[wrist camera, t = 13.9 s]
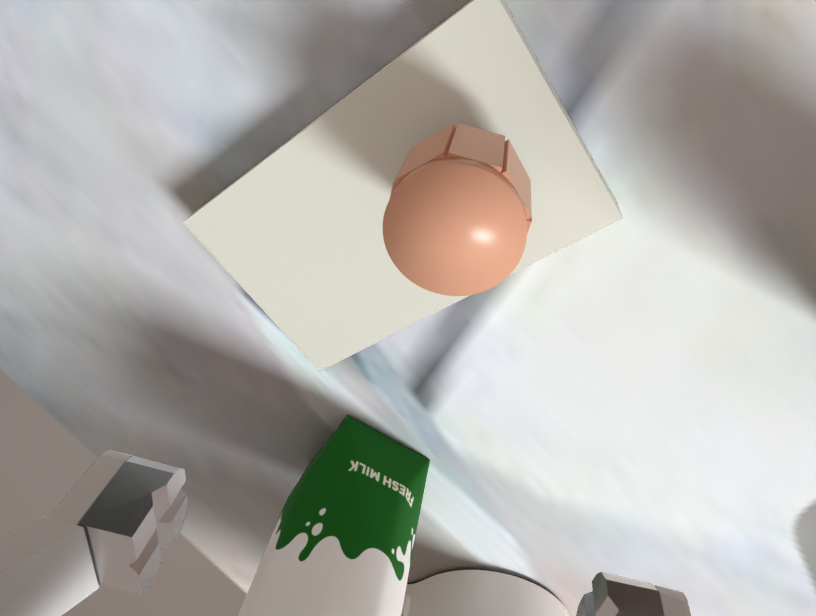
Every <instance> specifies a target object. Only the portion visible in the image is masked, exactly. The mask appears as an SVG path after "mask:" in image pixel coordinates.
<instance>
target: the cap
mask: <svg viewBox="0 0 816 616" xmlns="http://www.w3.org/2000/svg"><path fill="white" fill-rule="evenodd" d="M531 223H532V211H531V180H530V178H529V176H528V174H527V172H526V170H525V168H524V167H523V165H522V163H521V161H520V159H519V157H518V155H517V153H516V151H515V149H514V147H513V146H512V144H511V142H510V140H509V139H508V140H506V141H505V136H504V135H500V134H497V133H493V132H490V131H486V130H482V129H479V128H475V127H472V126H468V125H465V124H461V123H458V125H457V128H456V127H455V125H454V123H453V124H451V125H450V126H448V127H446V128H444V129H443V130H441V131H439V132H437V133H436V134H434V135H432V136H430V137H429V138H427V139H425V140H423V141H422V142H420V143H418V144H416V145H415V146H413V147H412V149H411V150H410V151H409V153H408V155H407V157H406V159H405V161H404V163H403V165H402V167H401V169H400V171H399V172H398V174H397V176H396V178H395V180H394V182H393V186H392V190H391V195H390V199H389V202H388V204H387V206H386V209H385V213H384V217H383V239H384V243H385V247H386V250H387V252H388V254H389V257H390V258H391V260H392V262H393V263H394V265H395V266H396V267H397V269H398V270H399V271H400V272H401V273H402V274H403V275H404V276H405V277H406V278H407V279H409V280H410V281H411V282H413V283H414V284H416V285H418V286H419V287H421V288H423V289H425V290H428V291H431V292H433V293H437V294H441V295H447V296H467V295H473V294H477V293H481V292H484V291H486V290H489V289H491V288H493V287H495V286H496V285H498V284H499V283H501V282H502V281H503V280H504V279H506V278H507V277H508V276H509V275H510V274H511V273H512V271H513V270H514V269H515V268H516V266H517V265H518V263H519V261H520V259H521V257H522V255H523V252H524V249H525V245H526V239H527V233H528V231H529V228H530V225H531Z"/></svg>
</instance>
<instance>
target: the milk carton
mask: <svg viewBox="0 0 816 616" xmlns="http://www.w3.org/2000/svg"><path fill="white" fill-rule="evenodd" d="M429 462H430V460H429V459H427V458H425V457H423V456H422V455H420V454H418V453H416V452H414V451H412V450H411V449H409V448H407V447H405V446H403V445H402V444H400V443H398V442H396V441H394V440H392V439H391V438H389V437H387V436H385V435H383V434H381V433H380V432H378V431H376V430H374V429H372V428H371V427H369V426H367V425H365V424H363V423H361V422H360V421H358V420H356V419H354V418H352V417H351V416H349V415H347V417H346V418H345V419H344V421H343V422H342V423H341V424H340V426H339V427H338V428H337V430H336V431H335V432H334V433H333V435H332V436H331V437H330V439H329V440H328V441H327V442H326V444H325V445H324V446H323V448H322V449H321V450H320V451H319V453H318V454H317V455H316V457H315V458H314V459H313V460H312V462H311V463H310V464H309V466H308V467H307V469H306V470H305V472H304V474H303V475H302V477H301V478H300V480H299V482H298V483H297V485H296V486H295V488H294V489H293V491H292V492H291V494H290V496H289V497H288V499H287V501H286V503H285V505H284V508H283V510H282V512H281V514H280V517H279V519H278V521H277V524H276V526H275V529H274V531H273V533H272V536H271V538H270V541H269V543H268V545H267V548H266V550H265V553H264V555H263V557H262V560H261V562H260V565H259V567H258V569H257V572H256V574H255V577H254V579H253V581H252V584H251V586H250V589H249V591H248V593H247V596H246V598H245V601H244V603H243V606H242V608H241V610H240V613H239V615H238V616H401V613H402V608H403V602H404V597H405V591H406V585H407V580H408V574H409V569H410V563H411V558H412V552H413V546H414V540H415V534H416V529H417V524H418V519H419V514H420V509H421V503H422V498H423V493H424V487H425V482H426V477H427V472H428V467H429Z"/></svg>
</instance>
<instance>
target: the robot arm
mask: <svg viewBox="0 0 816 616" xmlns="http://www.w3.org/2000/svg"><path fill="white" fill-rule="evenodd" d="M185 481H186V475H185V469H183V468H179V467H175V466H171V465H168V464H164V463H160V462H156V461H153V460H149V459H145V458H141V457H137V456H135V455H131V454H127V453H123V452H119V451H115V450H111V449H108V450H107V451H105V452H104V453H102V454H101V455H99V457H98V458H97V459H96V460H95V462H94V463H93V464H92V465H91V466H90V468H89V469H88V470H87V471H86V472H85V474H84V475H83V476H82V477H81V479H80V480H79V481H78V482H77V484H76V485H75V486H74V487H73V488H72V489H71V491H70V492H69V493H68V495H67V496H66V497H65V498H64V499H63V501H62V502H61V503H60V504H59V505H58V507H57V508H56V509H55V510H54V511H53V513H52V514H51V515H50V516H49V517H44V516H40V517H38V518H36V519H34V520H32V521H30V522H28V523H26V524H24V525H22V526H20V527H18V528H16V529H14V530H12V531H10V532H8V533H6V534H4V535H2V536H0V616H61V615H63V614H64V613H65V612H67V611H68V610H70V609H71V608H72V607H74V606H75V605H76V604H78V603H79V602H80V601H82V600H83V599H85V598H86V597H87V596H89V595H90V594H92V593H93V592H94V591H95V590H97V589H98V588H99V585H101V586H106V587H110V588H114V589H118V590H123V591H127V592H131V593H136V594H140V595H143V594H144V592H145V590H146V589H147V587H148V585H149V583H150V582H151V580H152V578H153V576H154V575H155V573H156V571H157V570H158V568H159V566H160V565H161V556H160V550H162V549H163V548H165V547H166V546H168V545H169V544H172V543H173V542H174V540H175V539H176V537H177V535H178V533H179V531H180V530H181V527H182V525H183V522H184V519H185V516H186V514H187V507H188V495H187V494H186V493H185V491H184V490H183V489H182V486H183V485H184V483H185ZM592 587H593V591H592V592H590V593H587V594H584V596H583V598H582V600H581V602H580V603H579V606H578V611H577V615H576V616H691V613H690V609H689V605H688V601H687V598H686V597H685V595H684V594H683V592H680V591H678V590H673V589H669V588H665V587H660V586H656V585H653V584H652V583H647V582H643V581H639V580H634V579H630V578H626V577H621V576H617V575H613V574H608V573H604V572H600V573H598V574H596V576H595V578H594V579H593V581H592ZM401 616H570V615H569V613H568V612H567V610H566V608H565V607H564V606H563V604H562V603H561V602H560V601H559V600H558V599H557V598H556V597H555V596H553V595H552V594H551V593H549V592H548V591H546V590H545V589H543V588H541V587H540V586H538V585H536V584H534V583H532V582H529V581H527V580H524V579H522V578H519V577H515V576H512V575H508V574H504V573H499V572H493V571H485V570H457V571H450V572H445V573H441V574H437V575H434V576H432V577H429V578H427V579H425V580H423V581H421V582H418V583H415V584H407V585H406V591H405V597H404V602H403V608H402V613H401Z"/></svg>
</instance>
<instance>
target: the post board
mask: <svg viewBox="0 0 816 616" xmlns="http://www.w3.org/2000/svg"><path fill="white" fill-rule="evenodd" d="M453 123H454V125H455V127H456V128H457V125H458V123H461V124H465V125H468V126H472V127H475V128H479V129H482V130H486V131H490V132H493V133H497V134H500V135H504V136H505V141H506V140H508V139H509V140H510V142H511V144H512V146H513V147H514V149H515V151H516V153H517V155H518V157H519V159H520V161H521V163H522V165H523V167H524V168H525V170H526V172H527V174H528V176H529V178H530V180H531V211H532V223H531V225H530V228H529V231H528V233H527V239H526V245H525V249H524V252H523V255H522V257H521V259H520V261H519V263H518V265H517V266H516V268H515V269H514V270H513V271H512V273H511V274H513V273H515V272H517V271H519V270H521V269H523V268H525V267H527V266H529V265H531V264H533V263H535V262H537V261H539V260H541V259H543V258H545V257H547V256H549V255H551V254H553V253H555V252H557V251H559V250H560V249H562V248H564V247H566V246H568V245H570V244H572V243H574V242H576V241H578V240H580V239H582V238H584V237H586V236H588V235H590V234H592V233H594V232H596V231H598V230H600V229H602V228H604V227H606V226H608V225H610V224H612V223H614V222H616V221H618V220H620V219H622V215H621V212H620V209H619V206H618V203H617V201H616V199H615V197H614V195H613V194H612V192H611V190H610V188H609V186H608V185H607V183H606V181H605V179H604V178H603V176H602V174H601V172H600V170H599V169H598V167H597V165H596V163H595V162H594V160H593V158H592V156H591V154H590V153H589V151H588V149H587V147H586V146H585V144H584V142H583V140H582V138H581V137H580V135H579V133H578V131H577V130H576V128H575V126H574V124H573V122H572V121H571V119H570V117H569V115H568V114H567V112H566V110H565V108H564V107H563V105H562V103H561V101H560V99H559V98H558V96H557V94H556V92H555V91H554V89H553V87H552V85H551V83H550V82H549V80H548V78H547V76H546V75H545V73H544V71H543V69H542V67H541V66H540V64H539V62H538V60H537V59H536V57H535V55H534V53H533V51H532V50H531V48H530V46H529V44H528V43H527V41H526V39H525V37H524V35H523V34H522V32H521V30H520V28H519V27H518V25H517V23H516V21H515V19H514V18H513V16H512V14H511V12H510V11H509V9H508V7H507V5H506V3H505V2H504V0H471V1H470V2H468V3H467V4H466V5H464V6H463V7H462V8H461V9H459V10H458V11H457V12H455V13H454V14H453V15H451V16H450V17H449V18H448V19H446V20H445V21H444V22H442V23H441V24H440V25H438V26H437V27H436V28H434V29H433V30H432V31H431V32H429V33H428V34H427V35H425V36H424V37H423V38H421V39H420V40H419V41H417V42H416V43H415V44H414V45H412V46H411V47H410V48H408V49H407V50H406V51H404V52H403V53H402V54H400V55H399V56H398V57H397V58H395V59H394V60H393V61H391V62H390V63H389V64H387V65H386V66H385V67H384V68H382V69H381V70H380V71H378V72H377V73H376V74H374V75H373V76H372V77H370V78H369V79H368V80H367V81H365V82H364V83H363V84H361V85H360V86H359V87H357V88H356V89H355V90H353V91H352V92H351V93H350V94H348V95H347V96H346V97H344V98H343V99H342V100H340V101H339V102H338V103H336V104H335V105H334V106H333V107H331V108H330V109H329V110H327V111H326V112H325V113H323V114H322V115H321V116H319V117H318V118H317V119H316V120H314V121H313V122H312V123H310V124H309V125H308V126H306V127H305V128H304V129H303V130H301V131H300V132H299V133H297V134H296V135H295V136H293V137H292V138H291V139H289V140H288V141H287V142H286V143H284V144H283V145H282V146H280V147H279V148H278V149H276V150H275V151H274V152H272V153H271V154H270V155H269V156H267V157H266V158H265V159H263V160H262V161H261V162H259V163H258V164H257V165H255V166H254V167H253V168H252V169H250V170H249V171H248V172H246V173H245V174H244V175H242V176H241V177H240V178H238V179H237V180H236V181H235V182H233V183H232V184H231V185H229V186H228V187H227V188H225V189H224V190H223V191H222V192H220V193H219V194H218V195H216V196H215V197H214V198H212V199H211V200H210V201H208V202H207V203H206V204H205V205H203V206H202V207H201V208H199V209H198V210H197V211H196V212H195V213H194V214H192V215H191V216H190V217H189V218H188V219H187V220H185V221H184V222H183V223H184V224H185V225H186V227H187V228H188V229H189V230H190V231H191V232H192V233H193V234H194V235H195V236H196V237H197V239H198V240H199V241H200V242H201V243H202V244H203V245H204V246H205V247H206V248H207V249H208V250H209V252H210V253H211V254H212V255H213V256H214V257H215V258H216V259H217V260H218V261H219V262H220V264H221V265H222V266H223V267H224V268H225V269H226V270H227V271H228V272H229V273H230V274H231V276H232V277H233V278H234V279H235V280H236V281H237V282H238V283H239V284H240V285H241V286H242V288H243V289H244V290H245V291H246V292H247V293H248V294H249V295H250V296H251V297H252V298H253V300H254V301H255V302H256V303H257V304H258V305H259V306H260V307H261V308H262V309H263V310H264V312H265V313H266V314H267V315H268V316H269V317H270V318H271V319H272V320H273V321H274V322H275V324H276V325H277V326H278V327H279V328H280V329H281V330H282V331H283V332H284V333H285V334H286V335H287V337H288V338H289V339H290V340H291V341H292V342H293V343H294V344H295V345H296V346H297V347H298V349H299V350H300V351H301V352H302V353H303V354H304V355H305V356H306V357H307V358H308V359H309V361H310V362H311V363H312V364H313V365H314V366H315V367H316V368H317V369H318V370H319V371H321V370H323V369H325V368H327V367H329V366H331V365H333V364H335V363H337V362H339V361H341V360H343V359H345V358H347V357H349V356H351V355H353V354H355V353H357V352H359V351H361V350H363V349H365V348H367V347H369V346H371V345H373V344H375V343H377V342H379V341H380V340H382V339H384V338H386V337H388V336H390V335H392V334H394V333H396V332H398V331H400V330H402V329H404V328H406V327H408V326H410V325H412V324H414V323H416V322H418V321H420V320H422V319H424V318H426V317H428V316H430V315H432V314H434V313H436V312H438V311H440V310H442V309H444V308H446V307H448V306H450V305H452V304H454V303H456V302H458V301H460V300H462V299H464V298H466V297H468V296H469V295H467V296H447V295H441V294H437V293H433V292H431V291H428V290H425V289H423V288H421V287H419V286H418V285H416V284H414V283H413V282H411V281H410V280H409V279H407V278H406V277H405V276H404V275H403V274H402V273H401V272H400V271H399V270H398V269H397V267H396V266H395V265H394V263H393V262H392V260H391V258H390V257H389V254H388V252H387V250H386V247H385V243H384V239H383V217H384V213H385V209H386V206H387V204H388V202H389V199H390V195H391V190H392V186H393V182H394V180H395V178H396V176H397V174H398V172H399V171H400V169H401V167H402V165H403V163H404V161H405V159H406V157H407V155H408V153H409V151H410V150H411V149H412V147H413V146H415V145H416V144H418V143H420V142H422V141H423V140H425V139H427V138H429V137H430V136H432V135H434V134H436V133H437V132H439V131H441V130H443V129H444V128H446V127H448V126H450V125H451V124H453ZM511 274H510V275H511Z"/></svg>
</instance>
